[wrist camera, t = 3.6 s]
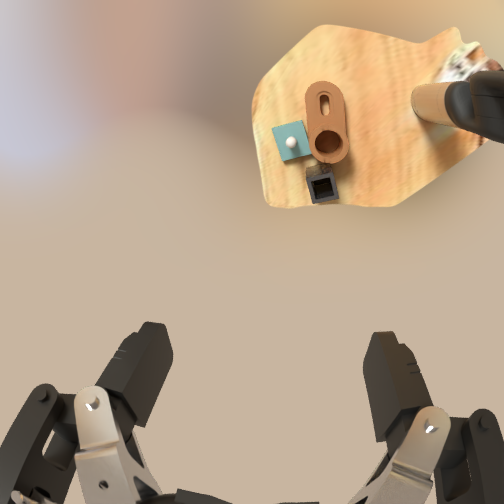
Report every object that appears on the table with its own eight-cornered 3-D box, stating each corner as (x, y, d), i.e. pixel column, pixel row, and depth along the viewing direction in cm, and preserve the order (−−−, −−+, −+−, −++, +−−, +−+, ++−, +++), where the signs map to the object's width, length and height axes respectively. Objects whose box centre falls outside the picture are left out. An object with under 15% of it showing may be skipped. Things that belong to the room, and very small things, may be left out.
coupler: (329, 162, 59) (332, 172, 50) (334, 184, 61) (339, 198, 52) (306, 167, 60) (305, 178, 52) (312, 189, 63) (312, 204, 54)
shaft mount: (301, 120, 55) (301, 121, 49) (311, 152, 58) (312, 157, 53) (272, 127, 57) (268, 130, 51) (282, 159, 60) (280, 165, 55)
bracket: (345, 157, 57) (349, 163, 52) (309, 157, 59) (310, 163, 53) (340, 82, 49) (344, 79, 43) (303, 82, 50) (303, 79, 45)
